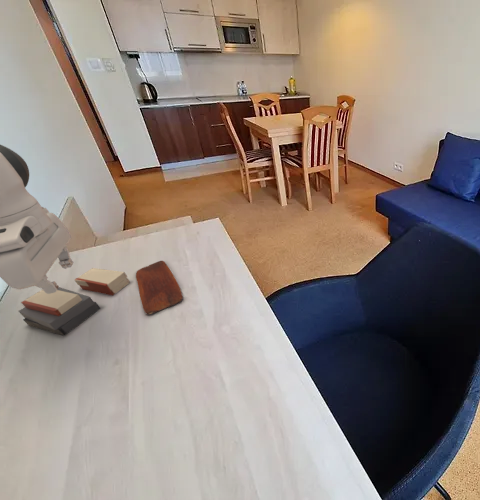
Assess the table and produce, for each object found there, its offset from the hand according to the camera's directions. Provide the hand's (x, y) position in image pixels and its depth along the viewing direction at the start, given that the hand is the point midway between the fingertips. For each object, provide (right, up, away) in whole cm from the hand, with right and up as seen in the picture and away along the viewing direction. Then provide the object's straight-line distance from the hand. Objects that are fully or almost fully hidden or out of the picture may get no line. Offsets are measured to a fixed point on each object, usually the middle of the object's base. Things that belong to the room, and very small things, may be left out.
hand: (61, 277), depth 66 cm
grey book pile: (-16, -12, +18) cm, 27 cm away
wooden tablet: (+5, -5, +26) cm, 27 cm away
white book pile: (-13, -5, +28) cm, 31 cm away
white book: (-16, -8, +15) cm, 23 cm away
